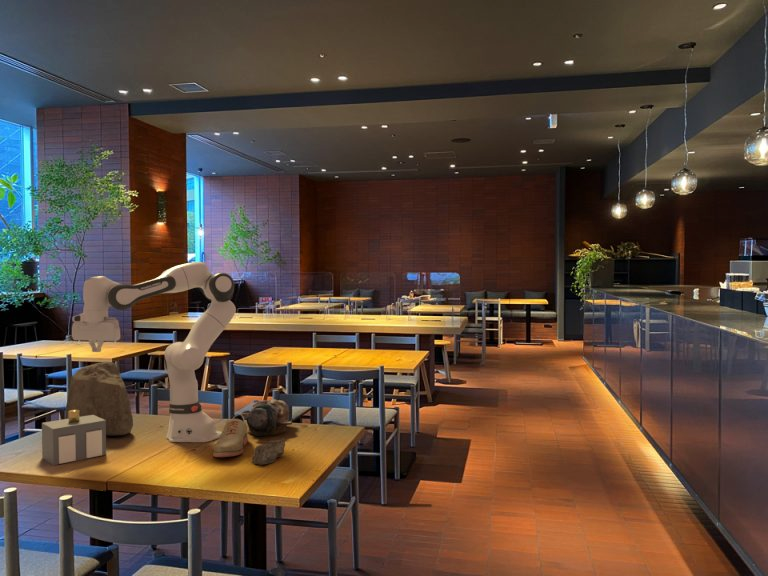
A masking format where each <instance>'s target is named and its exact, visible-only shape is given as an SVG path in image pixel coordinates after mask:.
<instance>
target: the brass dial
mask: <svg viewBox="0 0 768 576" xmlns="http://www.w3.org/2000/svg"><path fill="white" fill-rule="evenodd" d="M68 414H69V423H75V422H79V410H70V411H68Z"/></svg>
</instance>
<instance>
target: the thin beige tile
mask: <svg viewBox="0 0 768 576" xmlns="http://www.w3.org/2000/svg"><path fill="white" fill-rule="evenodd" d="M70 462H77V461H76V443H75V434H73V435H72V434H70V435H64V436H59V437H58V465H59V464H60V465H61V464H65V463H70Z"/></svg>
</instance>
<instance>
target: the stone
mask: <svg viewBox="0 0 768 576" xmlns="http://www.w3.org/2000/svg"><path fill="white" fill-rule="evenodd" d="M65 407H66V408H65V416H64V417H65V418H64V419H69V414H68V411H70V410H79V417H82V416H88V415H95V416H97V417H99V418H102V419H104V420H106V436H109V437H115V436H125V435H127V434H130V433H131V431H132V429H133V428H134V427H133V426H134V418H133V413H132V407H131V402H130V397H129V394H128V390H127V386H126V384H125V381H124V380H123V378H122V376H121V374H120V371H119V369H118V365H117V364H116V363H114V362H113V361H103V362H97V363H92V364H90V365H86V366H83V367H81V368H79V369H78V370H76V371H75V373H74V374H73V375H72V377H71V380H70V384H69V390H68V395H67V401H66V404H65Z"/></svg>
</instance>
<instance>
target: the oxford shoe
mask: <svg viewBox="0 0 768 576" xmlns="http://www.w3.org/2000/svg"><path fill="white" fill-rule="evenodd" d="M247 431H248V426H247V422H246V420H245V417H244V416H242V415H241V414H236V415H235V416H233V418H232V419H231V420H228V421H226V423H225V424H224V426H223V429H222V431H221V432H222V433H221V436H220V437H219V438H217V439H218V440H217V441H216V443H215V444H214V448H213V452H212V454H213V455H212V456H213V457H215V458H230V457H236V456H239V455H242V454H243V453H244V451H245V450H244V446H245V445H247V444H248V442H249V437H248V433H247Z"/></svg>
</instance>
